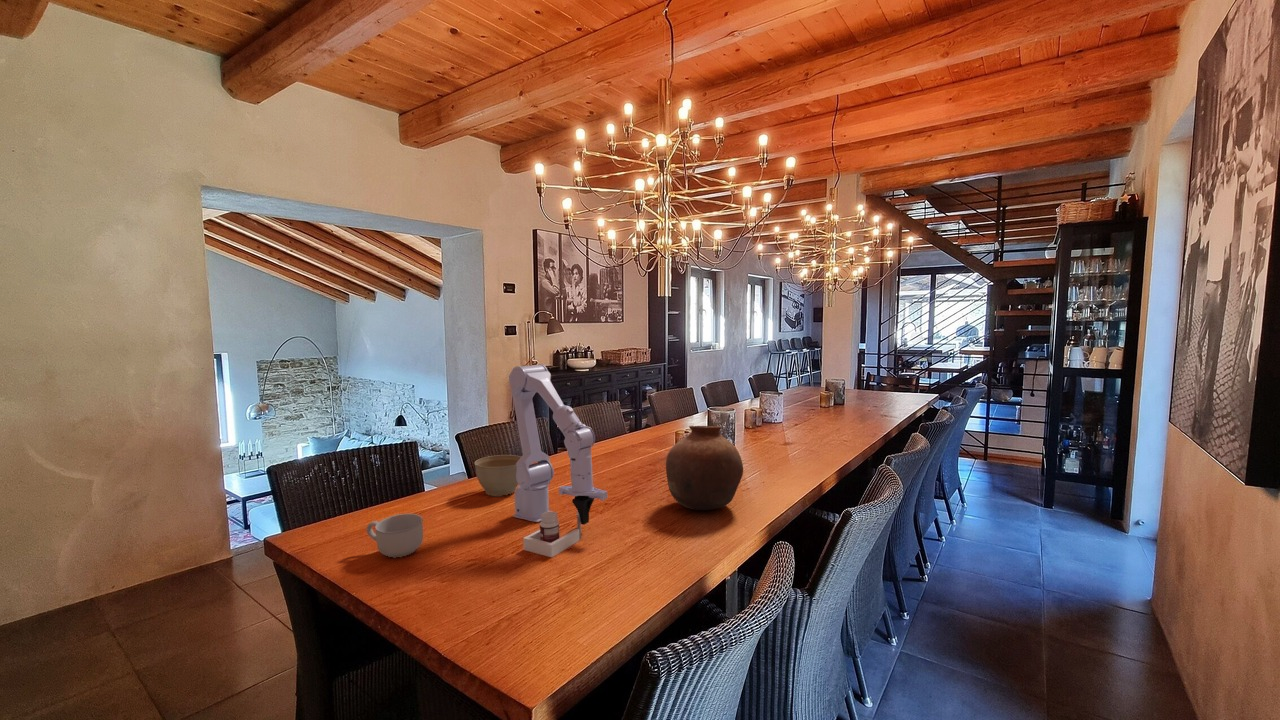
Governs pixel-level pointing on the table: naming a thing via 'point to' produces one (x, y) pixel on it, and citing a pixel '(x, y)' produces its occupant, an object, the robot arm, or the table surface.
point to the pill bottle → (549, 527)
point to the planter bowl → (497, 474)
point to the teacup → (397, 534)
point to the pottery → (704, 469)
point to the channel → (546, 548)
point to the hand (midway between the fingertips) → (584, 523)
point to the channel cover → (579, 524)
